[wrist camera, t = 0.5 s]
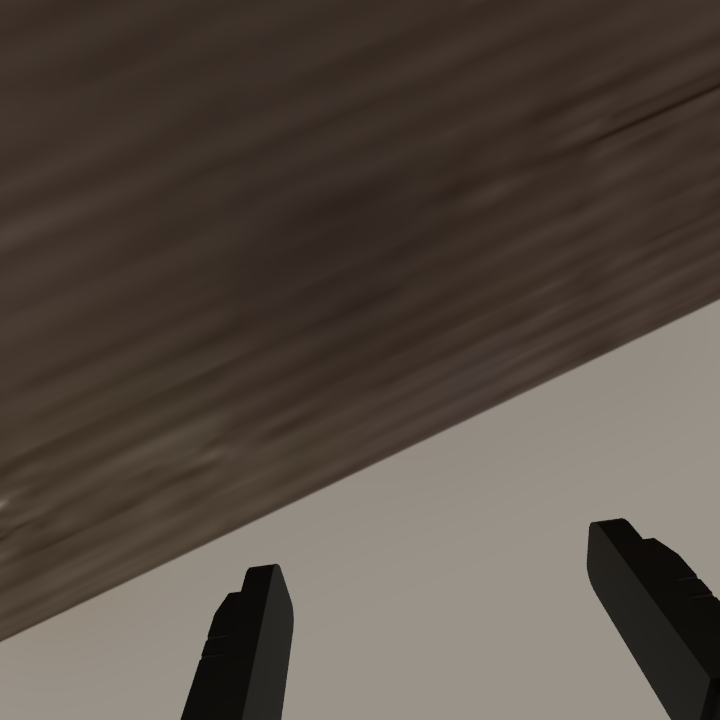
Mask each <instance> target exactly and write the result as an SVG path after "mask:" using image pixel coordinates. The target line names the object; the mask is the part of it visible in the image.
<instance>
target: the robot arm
mask: <svg viewBox="0 0 720 720" xmlns="http://www.w3.org/2000/svg"><path fill="white" fill-rule="evenodd" d="M587 571H588V576H589V579H590V582H591V585H592V587H593V589H594V591H595V593H596V595H597V596H598V598H599V600H600V601H601V603H602V605H603V607H604V608H605V610H606V612H607V613H608V615H609V616H610V618H611V620H612V622H613V623H614V625H615V627H616V628H617V630H618V631H619V633H620V635H621V637H622V638H623V640H624V642H625V643H626V645H627V647H628V648H629V650H630V652H631V653H632V655H633V657H634V658H635V660H636V662H637V663H638V665H639V667H640V668H641V670H642V672H643V673H644V675H645V677H646V678H647V680H648V682H649V683H650V685H651V687H652V688H653V690H654V692H655V693H656V695H657V697H658V698H659V700H660V702H661V704H662V705H663V707H664V708H665V710H666V712H667V714H668V715H669V717H670V718H671V720H720V601H719V600H718V599H717V598H716V597H714V596H713V595H712V592H711V591H710V590H709V589H708V587H707V586H706V585H705V584H704V583H703V582H702V580H701V579H698V578H697V576H696V574H695V573H694V572H693V570H692V569H691V568H690V567H689V566H688V565H687V564H686V562H684V560H683V559H682V558H681V557H680V556H679V555H678V554H677V553H676V552H674V551H673V550H671V549H670V548H668V547H667V546H665V545H664V544H662V543H661V542H659V541H658V540H656V539H655V538H651V539H642V537H641V536H640V535H639V534H638V533H637V531H636V530H635V529H634V528H633V526H632V525H631V524H630V523H629V522H628V521H627V520H625V519H623V518H620V519H613V520H606V521H598V522H592V523H591V524H590V526H589V537H588V553H587ZM293 617H294V616H293V606H292V602H291V599H290V596H289V593H288V590H287V586H286V583H285V581H284V577H283V574H282V572H281V568H280V566H279V565H278V564H273V565H265V566H258V567H251V568H249V569H248V570H247V572H246V575H245V579H244V582H243V586H242V590H241V592H234V593H229V594H228V595H227V597H226V598H225V600H224V601H223V602H222V604H221V606H220V607H219V608H218V610H217V611H216V613H215V615H214V618H213V621H212V624H211V627H210V630H209V633H208V640H207V641H206V643H205V646H204V649H203V652H202V658H201V660H200V661H199V664H198V667H197V671H196V673H195V677H194V680H193V683H192V686H191V689H190V692H189V695H188V698H187V701H186V705H185V708H184V711H183V714H182V717H181V720H281V717H282V709H283V702H284V694H285V687H286V679H287V671H288V665H289V657H290V649H291V642H292V634H293V623H294V618H293Z"/></svg>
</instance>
